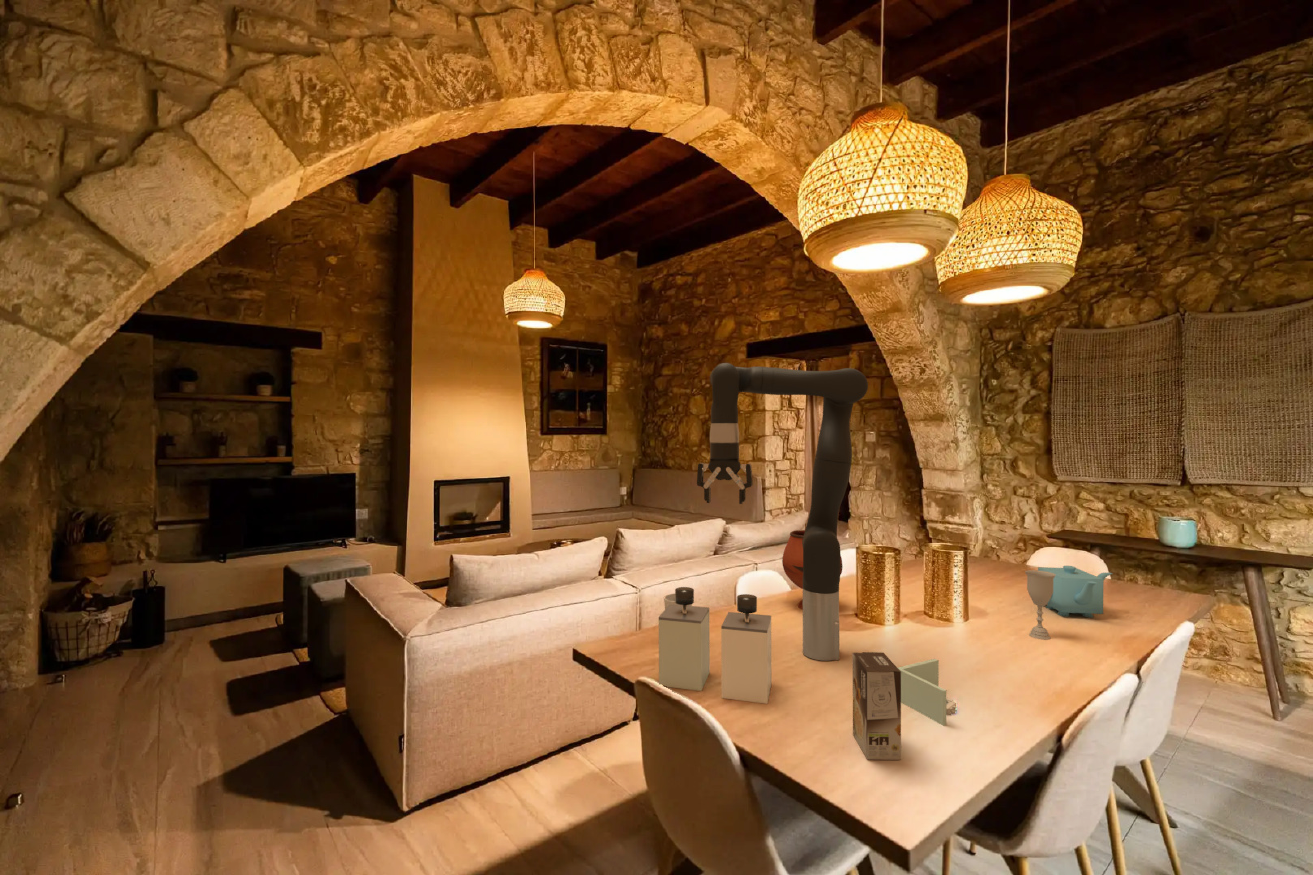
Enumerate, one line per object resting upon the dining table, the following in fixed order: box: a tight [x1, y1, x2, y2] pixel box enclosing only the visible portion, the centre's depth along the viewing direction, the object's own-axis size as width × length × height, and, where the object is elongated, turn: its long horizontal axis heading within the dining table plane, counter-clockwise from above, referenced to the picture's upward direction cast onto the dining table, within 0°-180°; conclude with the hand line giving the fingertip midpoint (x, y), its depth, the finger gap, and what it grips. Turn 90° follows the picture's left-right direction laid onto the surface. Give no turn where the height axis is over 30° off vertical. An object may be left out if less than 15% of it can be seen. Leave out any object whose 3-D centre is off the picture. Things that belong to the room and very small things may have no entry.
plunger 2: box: [736, 593, 758, 622], centre depth 129 cm, size 8×8×19 cm
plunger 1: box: [674, 586, 695, 614], centre depth 135 cm, size 8×8×19 cm
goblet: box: [781, 529, 843, 611], centre depth 188 cm, size 19×19×25 cm
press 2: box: [720, 611, 772, 705], centre depth 129 cm, size 10×10×16 cm
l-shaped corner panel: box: [897, 658, 957, 726], centre depth 122 cm, size 12×12×8 cm
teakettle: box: [1037, 565, 1113, 618], centre depth 182 cm, size 19×19×15 cm
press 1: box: [658, 604, 711, 692], centre depth 135 cm, size 10×10×16 cm
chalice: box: [1024, 569, 1056, 641], centre depth 161 cm, size 7×7×18 cm
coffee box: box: [851, 651, 902, 761], centre depth 106 cm, size 9×6×16 cm
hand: (724, 503), depth 148 cm, fingers open, 8 cm apart
